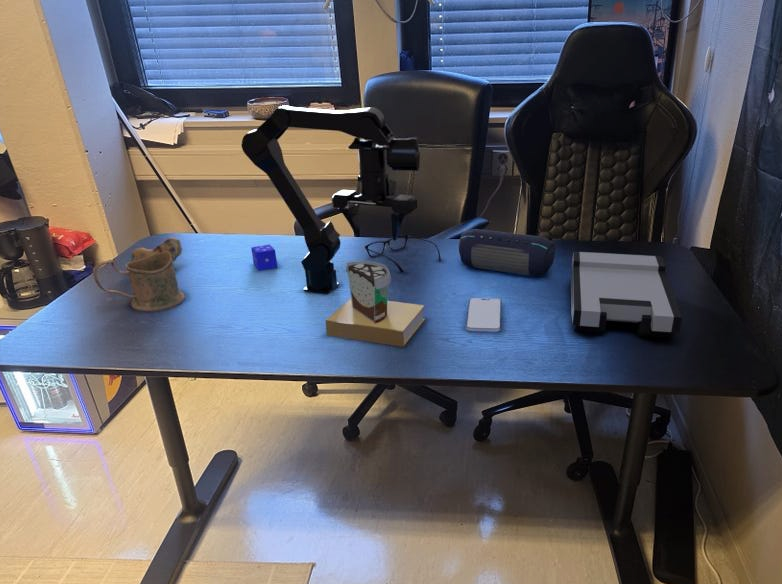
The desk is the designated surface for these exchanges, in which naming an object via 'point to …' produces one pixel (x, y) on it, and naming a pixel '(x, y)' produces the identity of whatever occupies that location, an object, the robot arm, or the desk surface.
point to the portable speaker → (506, 252)
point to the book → (377, 324)
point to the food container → (369, 288)
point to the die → (264, 257)
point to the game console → (622, 293)
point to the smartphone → (484, 315)
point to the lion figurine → (159, 250)
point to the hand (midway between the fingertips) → (376, 238)
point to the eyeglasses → (395, 250)
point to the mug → (150, 282)
